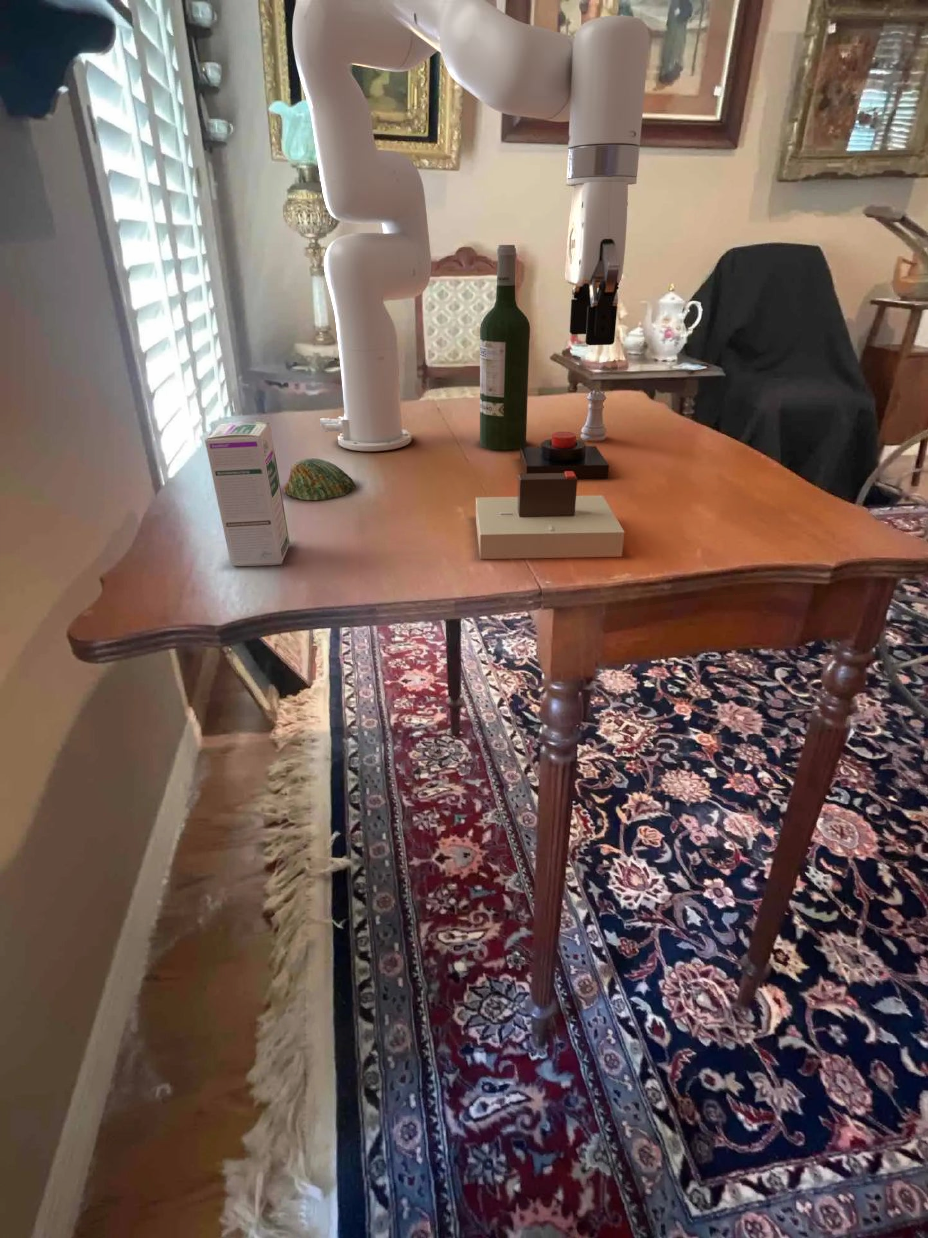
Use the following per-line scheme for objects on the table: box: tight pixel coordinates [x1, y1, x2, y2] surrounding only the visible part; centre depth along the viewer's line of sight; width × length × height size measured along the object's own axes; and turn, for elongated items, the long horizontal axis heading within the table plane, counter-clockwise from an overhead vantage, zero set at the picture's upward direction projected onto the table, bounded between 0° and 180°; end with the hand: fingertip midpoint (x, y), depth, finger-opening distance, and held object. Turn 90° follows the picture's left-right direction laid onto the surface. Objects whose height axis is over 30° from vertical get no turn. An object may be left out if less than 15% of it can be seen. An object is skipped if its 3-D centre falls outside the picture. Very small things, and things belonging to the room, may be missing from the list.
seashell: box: [283, 458, 356, 501], centre depth 98 cm, size 10×4×10 cm
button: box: [551, 431, 577, 448], centre depth 103 cm, size 4×4×2 cm
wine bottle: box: [479, 244, 531, 452], centre depth 110 cm, size 8×8×30 cm
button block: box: [519, 438, 610, 481], centre depth 104 cm, size 12×10×4 cm
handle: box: [517, 471, 578, 517], centre depth 80 cm, size 6×2×5 cm, turn 91°
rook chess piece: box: [580, 389, 607, 443], centre depth 118 cm, size 4×4×8 cm
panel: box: [475, 494, 625, 560], centre depth 82 cm, size 16×12×3 cm
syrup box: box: [204, 421, 290, 567], centre depth 75 cm, size 6×6×14 cm
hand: (590, 338), depth 83 cm, fingers open, 9 cm apart
